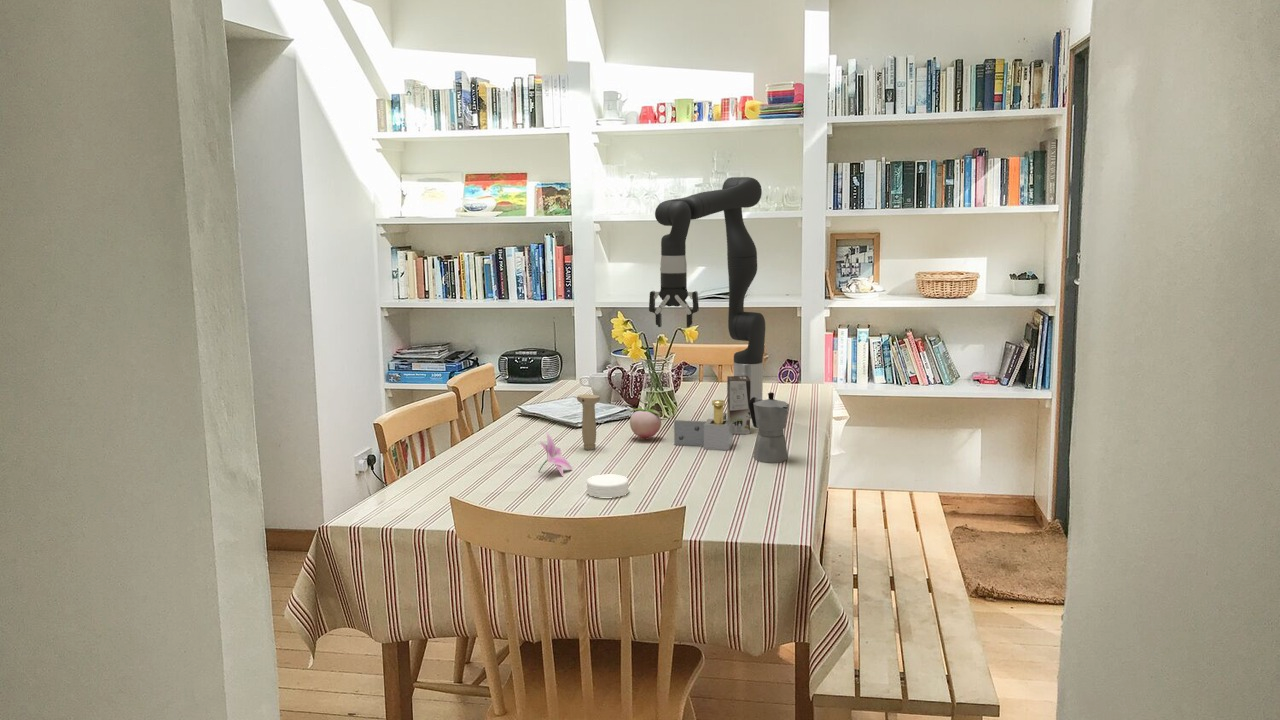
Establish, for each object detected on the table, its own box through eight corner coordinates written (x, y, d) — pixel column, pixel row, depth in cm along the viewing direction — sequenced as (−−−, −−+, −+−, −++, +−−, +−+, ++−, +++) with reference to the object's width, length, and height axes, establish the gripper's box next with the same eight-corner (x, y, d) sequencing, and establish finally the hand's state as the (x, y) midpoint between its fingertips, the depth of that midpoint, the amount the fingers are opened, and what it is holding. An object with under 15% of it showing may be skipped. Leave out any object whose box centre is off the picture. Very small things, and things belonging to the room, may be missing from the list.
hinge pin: (713, 444, 274) (713, 399, 272) (725, 445, 273) (725, 400, 271) (711, 447, 271) (711, 402, 269) (723, 448, 270) (723, 402, 268)
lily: (541, 486, 240) (560, 453, 238) (513, 460, 247) (531, 428, 245) (571, 489, 250) (589, 458, 248) (543, 464, 256) (560, 434, 255)
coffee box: (750, 434, 286) (751, 380, 283) (728, 434, 286) (729, 380, 283) (748, 427, 295) (748, 375, 292) (726, 427, 295) (726, 375, 292)
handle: (593, 452, 268) (592, 398, 265) (575, 449, 271) (573, 396, 269) (603, 448, 272) (602, 395, 269) (585, 445, 275) (584, 393, 273)
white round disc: (605, 485, 237) (605, 471, 237) (637, 492, 231) (637, 478, 231) (578, 494, 230) (577, 480, 229) (609, 502, 223) (609, 487, 223)
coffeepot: (800, 461, 256) (801, 394, 253) (773, 466, 251) (774, 398, 248) (762, 449, 268) (762, 385, 266) (735, 454, 263) (736, 389, 260)
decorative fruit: (626, 442, 278) (625, 408, 277) (633, 435, 286) (632, 402, 284) (658, 444, 276) (657, 409, 274) (664, 437, 284) (663, 403, 282)
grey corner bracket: (683, 434, 287) (682, 411, 286) (736, 436, 283) (736, 413, 282) (672, 447, 272) (672, 423, 270) (728, 450, 268) (729, 425, 267)
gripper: (700, 270, 281) (700, 325, 284) (652, 270, 284) (652, 325, 287) (695, 272, 274) (695, 329, 277) (646, 272, 277) (647, 328, 280)
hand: (673, 327), depth 282 cm, fingers open, 8 cm apart
